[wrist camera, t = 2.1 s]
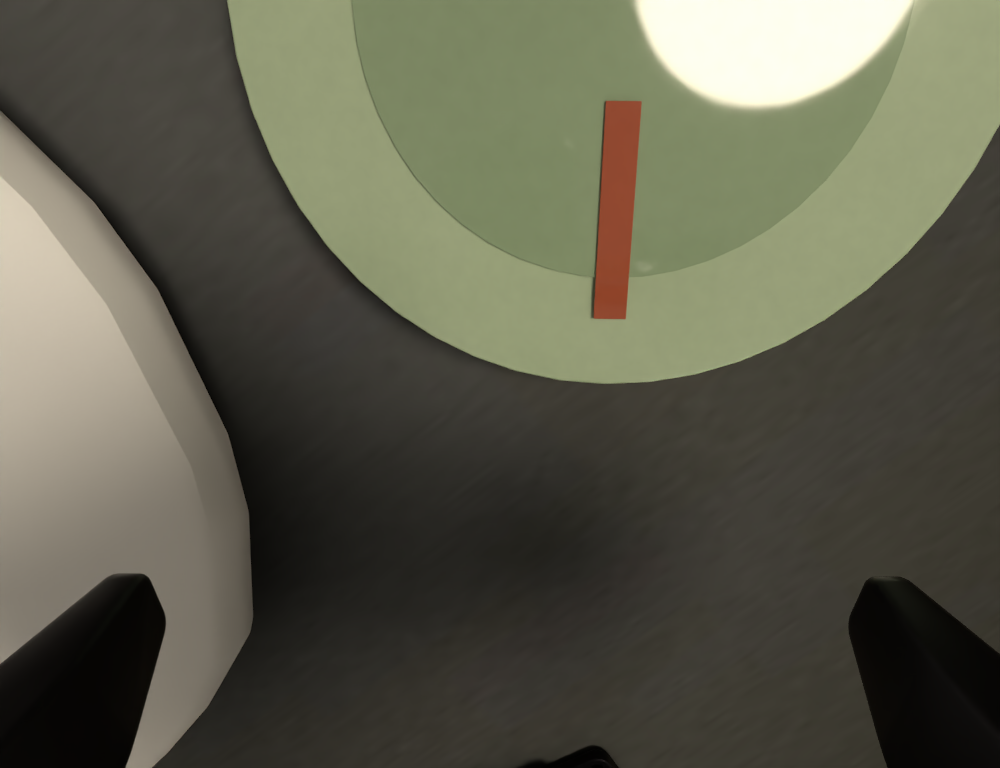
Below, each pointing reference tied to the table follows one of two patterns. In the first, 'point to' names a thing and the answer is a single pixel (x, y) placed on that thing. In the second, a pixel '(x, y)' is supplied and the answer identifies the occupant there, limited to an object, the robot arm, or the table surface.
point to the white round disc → (109, 447)
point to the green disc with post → (620, 161)
